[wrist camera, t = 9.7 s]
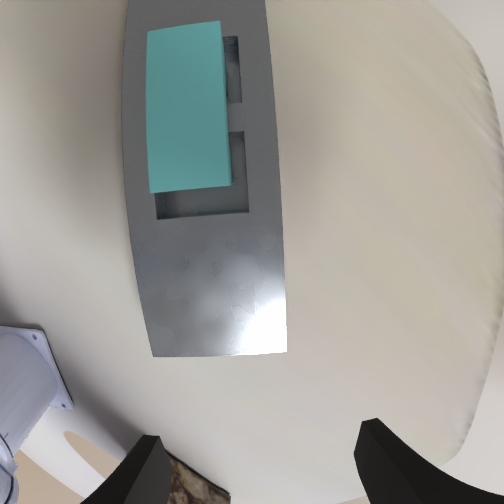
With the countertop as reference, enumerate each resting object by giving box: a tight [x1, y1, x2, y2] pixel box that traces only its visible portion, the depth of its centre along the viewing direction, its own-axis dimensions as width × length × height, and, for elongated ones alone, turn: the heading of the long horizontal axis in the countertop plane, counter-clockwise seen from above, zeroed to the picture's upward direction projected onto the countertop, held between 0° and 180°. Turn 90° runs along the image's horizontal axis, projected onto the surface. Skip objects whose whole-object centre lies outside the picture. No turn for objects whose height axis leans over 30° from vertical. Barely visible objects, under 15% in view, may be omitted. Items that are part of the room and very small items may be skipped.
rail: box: [122, 0, 286, 357], centre depth 14 cm, size 7×24×3 cm, turn 4°
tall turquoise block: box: [146, 21, 233, 194], centre depth 12 cm, size 7×3×5 cm, turn 3°
